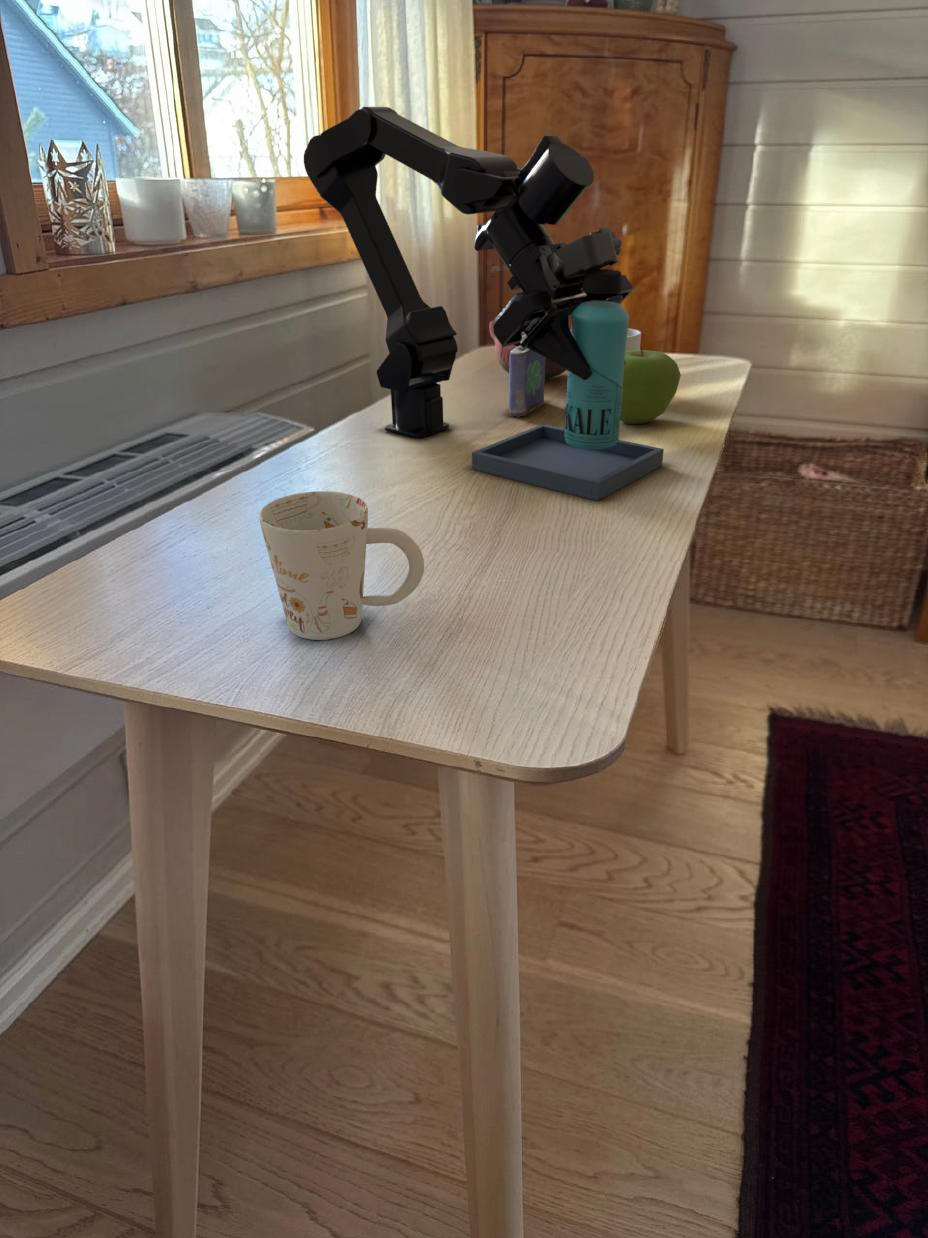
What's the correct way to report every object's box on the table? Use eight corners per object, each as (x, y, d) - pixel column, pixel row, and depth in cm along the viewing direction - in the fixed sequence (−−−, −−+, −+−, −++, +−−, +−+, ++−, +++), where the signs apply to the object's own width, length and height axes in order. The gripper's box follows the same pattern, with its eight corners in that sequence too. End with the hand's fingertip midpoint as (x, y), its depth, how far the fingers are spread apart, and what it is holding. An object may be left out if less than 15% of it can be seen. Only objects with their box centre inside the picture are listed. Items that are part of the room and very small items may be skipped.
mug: (279, 602, 78) (265, 493, 73) (424, 594, 78) (419, 486, 74) (269, 651, 70) (252, 533, 66) (428, 642, 71) (424, 525, 66)
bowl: (583, 372, 149) (585, 322, 145) (559, 391, 138) (561, 338, 135) (493, 365, 154) (493, 317, 151) (464, 383, 144) (463, 331, 140)
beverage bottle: (604, 442, 107) (617, 263, 97) (628, 459, 101) (645, 272, 92) (553, 447, 105) (561, 266, 96) (575, 465, 100) (587, 275, 90)
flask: (521, 418, 126) (522, 339, 121) (502, 415, 127) (502, 338, 122) (547, 402, 133) (549, 327, 128) (529, 400, 134) (531, 326, 129)
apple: (667, 435, 118) (675, 358, 113) (589, 428, 121) (593, 353, 116) (682, 413, 127) (689, 341, 122) (609, 407, 130) (613, 337, 125)
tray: (471, 469, 107) (471, 452, 106) (541, 439, 117) (541, 423, 116) (597, 501, 97) (598, 482, 96) (662, 465, 107) (663, 448, 106)
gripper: (516, 207, 87) (601, 339, 86) (625, 195, 99) (702, 312, 98) (458, 284, 96) (535, 405, 94) (565, 265, 107) (635, 373, 106)
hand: (605, 372), depth 98 cm, fingers closed on beverage bottle, 6 cm apart
